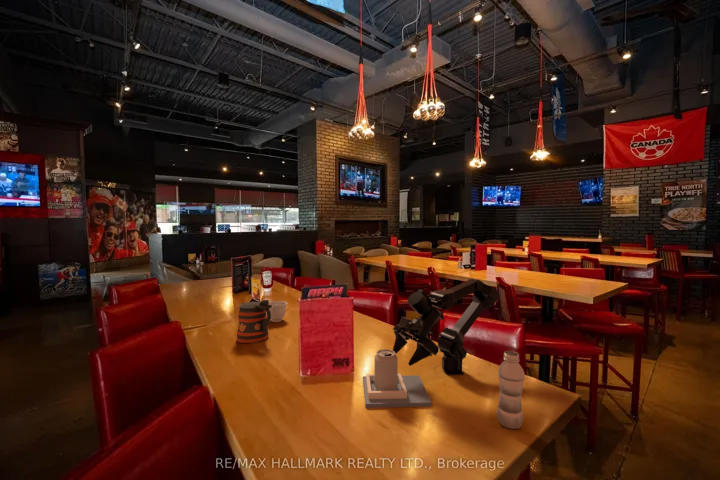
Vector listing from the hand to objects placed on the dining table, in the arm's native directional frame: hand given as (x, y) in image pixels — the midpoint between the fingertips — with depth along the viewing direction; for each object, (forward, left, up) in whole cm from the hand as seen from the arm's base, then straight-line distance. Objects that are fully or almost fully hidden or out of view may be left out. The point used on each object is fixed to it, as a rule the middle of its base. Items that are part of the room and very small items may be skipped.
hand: (400, 359), depth 105 cm
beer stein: (+61, -47, -10) cm, 78 cm away
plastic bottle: (-27, +21, -10) cm, 35 cm away
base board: (+2, +3, -10) cm, 10 cm away
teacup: (+58, -74, -10) cm, 95 cm away
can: (+5, +3, -8) cm, 10 cm away
